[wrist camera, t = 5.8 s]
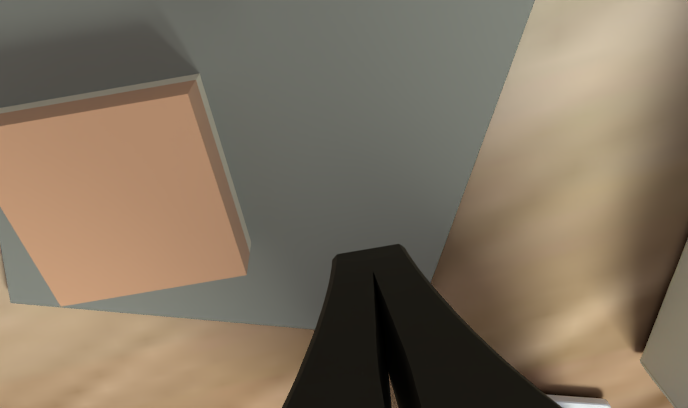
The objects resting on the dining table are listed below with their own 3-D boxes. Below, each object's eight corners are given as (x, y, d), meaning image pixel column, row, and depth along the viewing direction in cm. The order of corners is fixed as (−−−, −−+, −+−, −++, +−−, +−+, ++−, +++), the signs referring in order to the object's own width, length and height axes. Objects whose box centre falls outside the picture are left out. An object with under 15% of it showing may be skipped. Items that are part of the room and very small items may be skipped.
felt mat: (408, 330, 21) (410, 337, 20) (15, 295, 18) (10, 302, 18) (540, -34, 14) (546, -32, 13) (-63, -174, 11) (-75, -177, 11)
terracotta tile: (187, 94, 13) (-44, 134, 13) (246, 275, 16) (60, 306, 16) (199, 73, 14) (-7, 109, 14) (251, 241, 17) (82, 270, 17)
